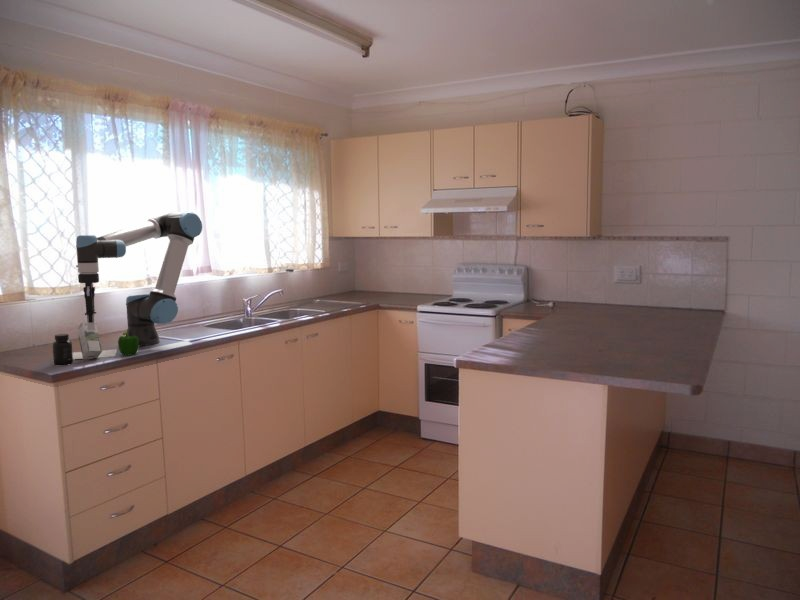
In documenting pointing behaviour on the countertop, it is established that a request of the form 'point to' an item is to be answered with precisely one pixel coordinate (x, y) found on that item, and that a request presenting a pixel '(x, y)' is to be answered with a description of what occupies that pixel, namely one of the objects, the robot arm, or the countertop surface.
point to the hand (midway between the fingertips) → (91, 329)
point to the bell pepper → (128, 344)
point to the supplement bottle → (62, 350)
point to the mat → (103, 354)
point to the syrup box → (89, 341)
